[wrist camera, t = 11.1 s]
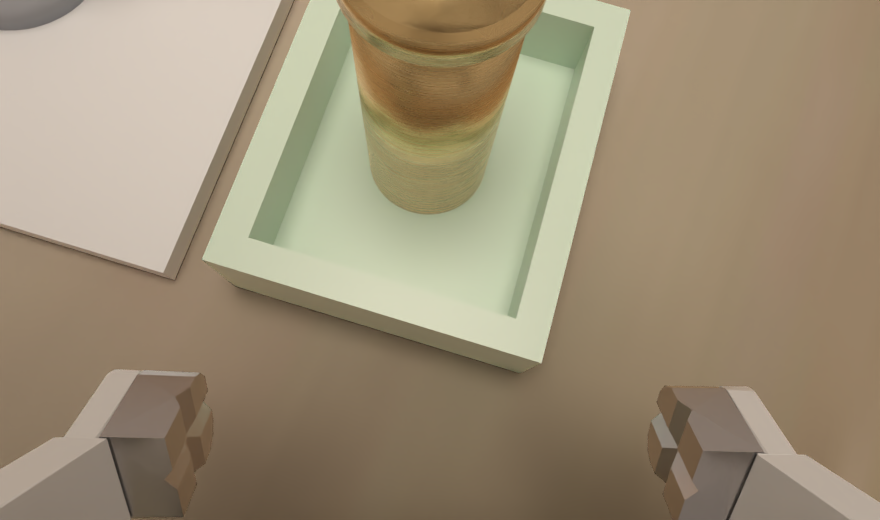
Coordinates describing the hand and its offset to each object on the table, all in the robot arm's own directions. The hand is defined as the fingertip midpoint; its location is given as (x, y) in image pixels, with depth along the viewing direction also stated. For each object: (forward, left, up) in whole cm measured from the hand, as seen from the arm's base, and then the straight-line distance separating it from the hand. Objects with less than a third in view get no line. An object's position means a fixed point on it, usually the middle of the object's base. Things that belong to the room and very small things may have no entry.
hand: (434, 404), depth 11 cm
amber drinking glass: (-2, +8, -8) cm, 12 cm away
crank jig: (-16, +8, -9) cm, 20 cm away
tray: (-2, +8, -9) cm, 13 cm away
